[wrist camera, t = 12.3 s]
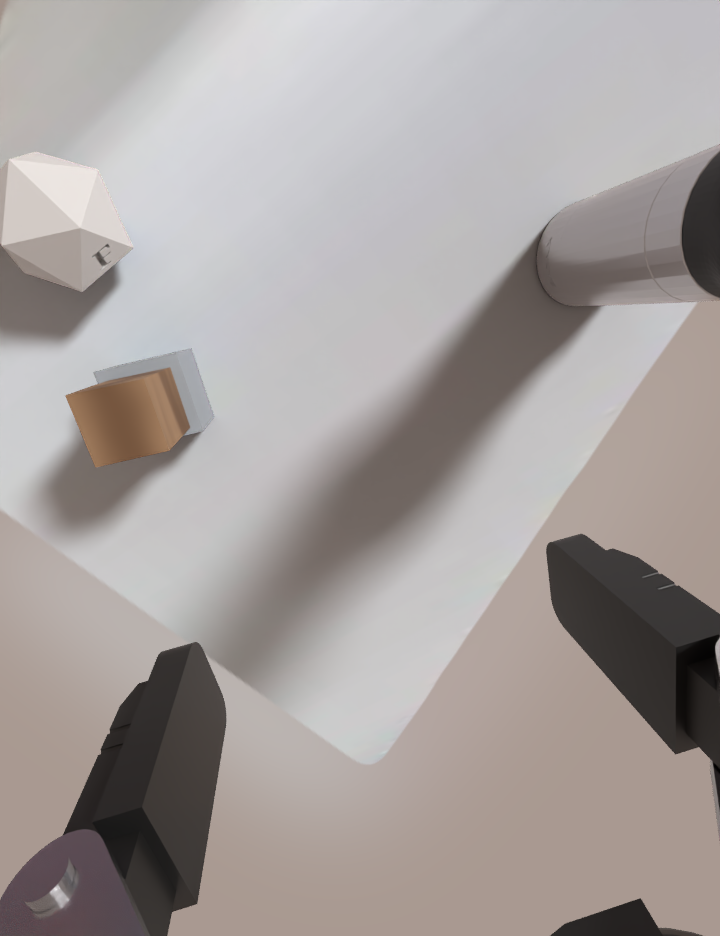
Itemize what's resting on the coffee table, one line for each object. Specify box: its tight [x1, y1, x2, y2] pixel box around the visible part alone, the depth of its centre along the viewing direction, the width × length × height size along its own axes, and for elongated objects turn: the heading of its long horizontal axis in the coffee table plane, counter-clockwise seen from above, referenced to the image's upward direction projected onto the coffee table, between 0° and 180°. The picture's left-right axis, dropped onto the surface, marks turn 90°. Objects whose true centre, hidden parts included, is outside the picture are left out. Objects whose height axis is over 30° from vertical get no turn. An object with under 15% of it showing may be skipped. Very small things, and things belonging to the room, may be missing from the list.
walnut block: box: [66, 367, 190, 467], centre depth 34 cm, size 5×5×7 cm
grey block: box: [93, 348, 214, 436], centre depth 40 cm, size 6×6×6 cm
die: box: [0, 152, 133, 292], centre depth 34 cm, size 8×9×10 cm
